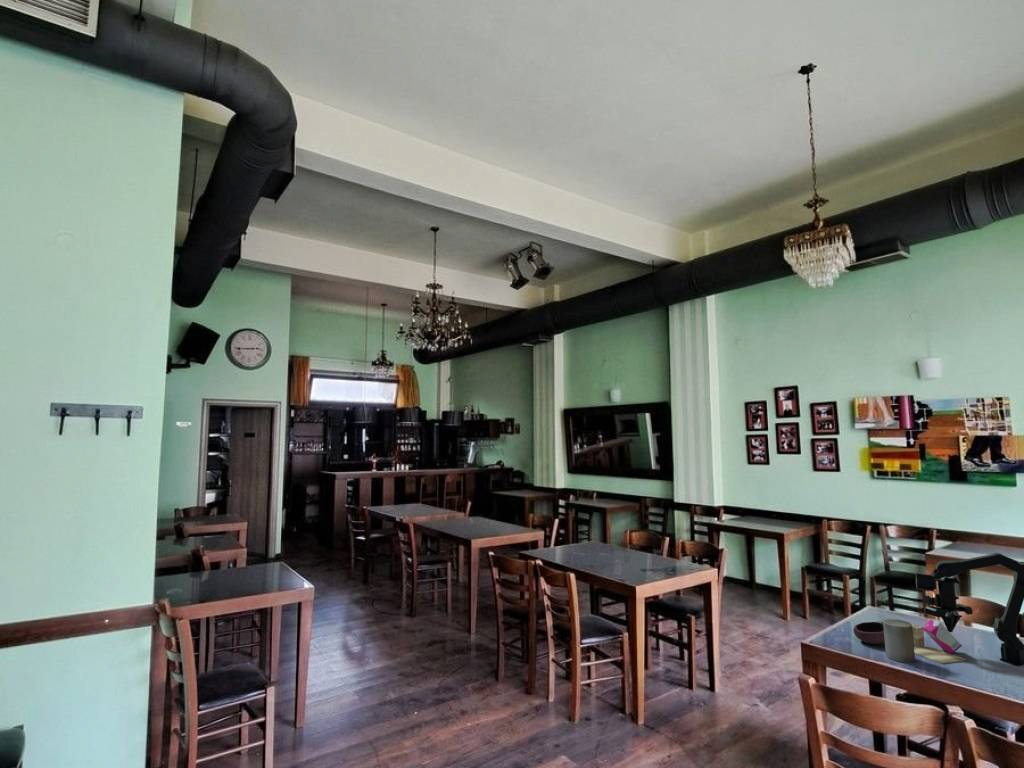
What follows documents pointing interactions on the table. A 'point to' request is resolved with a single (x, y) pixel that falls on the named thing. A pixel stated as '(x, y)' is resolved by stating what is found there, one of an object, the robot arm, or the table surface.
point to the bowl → (870, 632)
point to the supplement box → (942, 636)
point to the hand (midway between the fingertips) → (950, 631)
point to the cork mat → (937, 655)
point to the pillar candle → (899, 640)
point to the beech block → (918, 636)
